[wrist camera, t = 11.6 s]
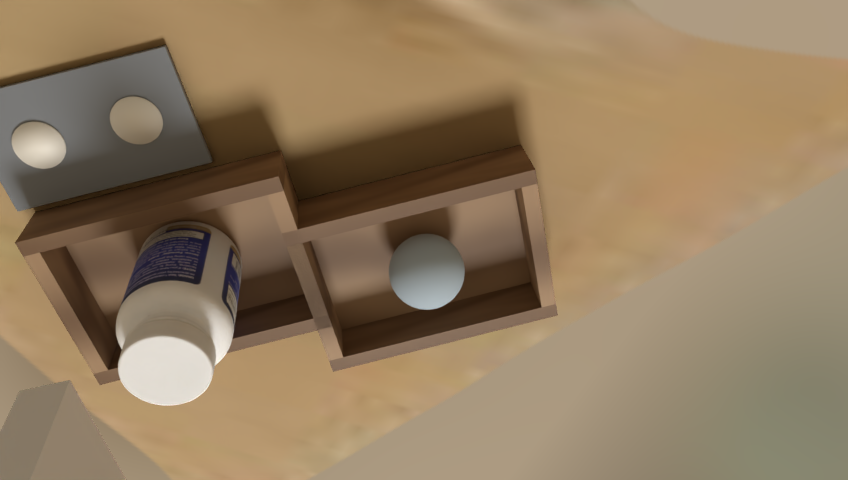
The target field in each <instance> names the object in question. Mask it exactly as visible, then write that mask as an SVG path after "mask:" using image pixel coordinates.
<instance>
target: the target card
mask: <svg viewBox="0 0 848 480" xmlns="http://www.w3.org/2000/svg"><path fill="white" fill-rule="evenodd" d="M212 161H213V159H212V157H211V154H210V152H209V149H208V147H207V144H206V142H205V140H204V137H203V135H202V132H201V130H200V127H199V125H198V122H197V120H196V117H195V115H194V112H193V110H192V107H191V105H190V102H189V100H188V98H187V95H186V93H185V90H184V88H183V85H182V83H181V80H180V78H179V75H178V73H177V70H176V68H175V65H174V63H173V60H172V58H171V55H170V53H169V51H168V48H167V46H166V45H163V46H159V47H155V48H151V49H148V50H144V51H140V52H136V53H132V54H128V55H124V56H120V57H116V58H112V59H108V60H104V61H100V62H96V63H92V64H88V65H85V66H81V67H77V68H73V69H69V70H65V71H61V72H57V73H53V74H49V75H45V76H41V77H37V78H33V79H29V80H25V81H22V82H18V83H14V84H10V85H6V86H2V87H0V182H1V184H2V185H3V187H4V189H5V190H6V192H7V194H8V196H9V197H10V199H11V201H12V202H13V204H14V206H15V208H16V209H17V211H22V210H25V209H29V208H33V207H37V206H41V205H45V204H49V203H53V202H57V201H61V200H65V199H69V198H73V197H77V196H81V195H85V194H89V193H93V192H97V191H101V190H105V189H109V188H112V187H116V186H120V185H124V184H128V183H132V182H136V181H140V180H144V179H148V178H152V177H156V176H160V175H164V174H168V173H172V172H176V171H180V170H184V169H188V168H192V167H196V166H199V165H203V164H207V163H211V162H212Z"/></svg>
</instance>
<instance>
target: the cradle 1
mask: <svg viewBox="0 0 848 480" xmlns="http://www.w3.org/2000/svg"><path fill="white" fill-rule="evenodd" d="M298 205H299V201H298V198H297V195H296V192H295V189H294V186H293V183H292V181H291V178H290V175H289V172H288V169H287V166H286V163H285V160H284V158H283V155H282V152H281V150H280V151H276V152H272V153H268V154H264V155H260V156H256V157H252V158H248V159H244V160H240V161H237V162H233V163H229V164H225V165H221V166H217V167H213V168H209V169H205V170H201V171H197V172H193V173H189V174H185V175H181V176H177V177H173V178H169V179H165V180H161V181H157V182H153V183H150V184H146V185H142V186H138V187H134V188H130V189H126V190H122V191H118V192H114V193H110V194H106V195H102V196H98V197H94V198H90V199H86V200H82V201H78V202H74V203H70V204H66V205H63V206H59V207H55V208H51V209H47V210H43V211H39V212H35V213H34V215H33V216H32V218H31V219H30V221H29V222H28V224H27V225H26V227H25V229H24V230H23V232H22V233H21V235H20V236H19V238H18V239H17V241H16V242H15V244H16V245H17V247H18V249H19V250H20V252H21V254H22V255H23V257H24V259H25V260H26V262H27V264H28V265H29V267H30V269H31V270H32V272H33V274H34V275H35V277H36V279H37V280H38V282H39V284H40V285H41V287H42V289H43V290H44V292H45V294H46V295H47V297H48V299H49V300H50V302H51V304H52V306H53V307H54V309H55V311H56V312H57V314H58V316H59V317H60V319H61V321H62V322H63V324H64V326H65V327H66V329H67V331H68V332H69V334H70V336H71V337H72V339H73V341H74V342H75V344H76V346H77V347H78V349H79V351H80V352H81V354H82V356H83V357H84V359H85V361H86V362H87V364H88V366H89V368H90V369H91V371H92V373H93V374H94V376H95V378H96V379H97V381H98V383H99V384H100V385H102V384H106V383H109V382H113V381H117V380H120V377H119V374H118V361H119V357H120V354H121V351H122V349H121V347H120V345H119V343H118V340H117V336H116V319H117V315H118V312H119V309H120V306H121V303H122V300H123V298H124V295H125V292H126V289H127V286H128V283H129V281H130V278H131V275H132V272H133V269H134V267H135V264H136V261H137V258H138V255H139V253H140V250H141V248H142V246H143V244H144V242H145V241H146V239H147V238H148V237H149V236H150V235H151V234H152V233H153V232H155V231H156V230H158V229H159V228H161V227H163V226H165V225H168V224H171V223H175V222H180V221H194V222H200V223H204V224H208V225H210V226H213V227H215V228H217V229H218V230H220V231H222V232H223V233H224V234H225V235H227V236H228V237H229V238H230V239H231V241H232V242H233V243H234V244H235V246H236V248H237V249H238V251H239V254H240V257H241V261H242V275H241V283H240V290H239V297H238V304H237V312H236V319H235V327H234V334H233V338H232V342H231V345H230V348H229V350H228V351H227V353H229V352H233V351H237V350H241V349H245V348H249V347H253V346H257V345H261V344H265V343H269V342H273V341H277V340H281V339H285V338H289V337H293V336H297V335H301V334H304V333H308V332H312V331H316V330H318V329H319V327H320V325H321V324H322V325H323V323H322V321H321V323H320V322H319V321H316V322H317V323H319V324H320V325H319V324H318V325H316V324H315V323H316V322H314V319H316V320H317V318H314V316H313V315H312V314H313V313H312V311H311V309H310V308H309V307H310V305H308V303H307V301H308V300H306V297H307V296H306V297H305V295H304V294H306V293H304V292H303V290H304V289H302V287H301V284H302V283H301V282H302V281H301V282H300V279H298V277H299V276H297V274H298V275H299V273H296V271H298V270H300V269H298V270H295V268H294V265H293V261H294V259H293V261H292V260H291V257H290V254H291V255H292V253H294V252H293V251H292V253H291V251H289V252H290V254H289V252H288V250H289V249H290V248H288V249H287V246H286V244H285V241H286V240H285V241H284V238H283V236H282V233H286V232H287V233H288V232H290V231H294V230H297V231H298ZM293 234H294V233H293ZM295 234H296V233H295ZM283 235H284V234H283ZM287 236H288V235H287ZM297 236H298V235H297ZM295 237H296V236H295ZM289 238H290V237H289ZM300 239H301V238H300ZM295 240H296V239H295ZM299 242H300V241H299ZM291 243H292V242H291ZM294 243H295V242H294ZM287 244H289V243H287ZM300 244H301V243H300ZM297 245H298V244H297ZM292 246H293V247H294V245H292ZM289 247H290V246H289ZM298 247H299V246H298ZM300 247H301V245H300ZM300 247H299V248H300ZM296 249H298V248H297V247H296ZM301 249H302V250H303V248H301ZM291 250H294V248H293V249H292V247H291ZM298 250H300V249H298ZM304 250H305V249H304ZM298 252H299V251H298ZM298 252H297V253H298ZM301 252H302V253H303V251H301ZM302 253H300V254H302ZM295 254H296V252H295ZM298 255H299V253H298ZM293 256H295V255H293ZM299 256H300V255H299ZM299 256H297V254H296V257H299ZM304 256H305V257H306V255H305V254H304ZM301 257H302V258H303V256H301ZM294 258H295V257H294ZM299 258H300V257H299ZM307 258H308V257H307ZM295 259H296V258H295ZM297 259H298V258H297ZM300 259H301V258H300ZM305 259H306V258H305ZM295 261H296V262H299V263H300V261H301V262H302V260H300V261H297V260H295ZM306 261H307V259H306ZM308 262H309V260H308ZM308 262H307V263H308ZM302 263H303V262H302ZM294 264H295V263H294ZM296 264H298V263H296ZM300 264H301V263H300ZM304 264H305V263H304ZM301 265H303V264H301ZM301 265H300V266H301ZM305 265H306V264H305ZM308 266H309V265H308ZM295 267H296V266H295ZM298 267H299V266H298ZM310 267H311V266H309V268H310ZM296 268H297V267H296ZM300 268H301V267H300ZM305 268H306V266H305ZM309 268H308V269H309ZM303 269H304V266H303ZM301 270H302V268H301ZM306 270H307V268H306ZM303 271H304V272H305V274H306V271H305V270H303ZM303 271H302V273H303V276H304V272H303ZM307 271H308V270H307ZM299 272H301V271H299ZM310 272H311V271H310ZM307 273H308V272H307ZM301 275H302V274H301ZM308 275H309V273H308ZM306 276H307V274H306ZM311 276H312V275H311ZM300 277H301V276H300ZM309 277H310V275H309ZM302 278H303V277H302ZM304 278H305V276H304ZM311 278H312V277H311ZM314 278H315V277H314ZM314 278H313V280H314ZM308 279H309V278H307V280H308ZM302 280H303V279H302ZM304 280H305V279H304ZM309 280H311V279H309ZM309 280H308V284H310V283H309ZM311 281H312V280H311ZM315 281H316V280H315ZM305 282H306V281H305ZM313 282H314V281H313ZM313 282H312V284H313ZM300 283H301V284H300ZM306 283H307V282H306ZM314 283H315V282H314ZM303 284H304V283H303ZM303 284H302V285H303ZM316 284H317V283H316ZM305 285H307V284H305ZM305 285H304V286H305ZM314 285H315V284H314ZM315 286H317V285H315ZM305 287H306V286H305ZM307 288H308V289H309V286H308V285H307ZM310 288H311V287H310ZM315 288H316V287H315ZM305 289H306V288H305ZM316 289H317V288H316ZM316 289H315V290H316ZM313 290H314V286H313ZM313 290H312V291H313ZM315 290H314V292H315ZM304 291H305V290H304ZM309 291H310V289H309ZM317 291H318V290H317ZM306 292H307V290H306ZM307 293H308V292H307ZM319 293H320V292H319ZM312 294H313V292H312ZM315 294H316V292H315ZM307 295H308V294H307ZM310 295H311V294H310ZM316 295H317V294H316ZM308 296H309V295H308ZM318 296H319V297H320V295H319V294H318ZM309 297H310V296H309ZM321 297H322V296H321ZM317 298H318V297H317ZM317 298H316V299H317ZM309 299H310V298H309ZM311 299H312V297H311ZM311 299H310V300H311ZM316 299H314V300H315V301H316ZM319 299H321V298H319ZM319 299H317V301H318V300H319ZM329 300H330V299H329V298H328V313H327V314H328V315H327V317H328V316H329V320H330V322H331V326H332V307H330V306H332V305H331V303H330V301H329ZM312 301H313V299H312ZM322 301H323V300H322ZM322 301H321V303H322ZM313 302H314V301H313ZM319 302H320V301H319ZM310 303H312V302H310ZM315 303H316V304H317V302H315ZM321 303H319V304H321ZM312 304H314V303H312ZM323 305H324V304H323ZM312 306H313V305H312ZM314 306H315V304H314ZM320 306H321V305H320ZM320 306H319V307H320ZM316 307H318V305H316ZM316 307H315V308H316ZM322 308H323V306H322ZM322 308H321V307H320V309H322ZM312 309H313V308H312ZM318 310H319V309H318ZM324 310H325V309H323V311H324ZM315 311H317V310H316V309H315ZM313 312H314V311H313ZM326 312H327V310H326ZM323 313H324V314H325V315H326V313H325V312H322V315H324V314H323ZM317 314H318V313H317ZM319 314H320V312H319ZM319 314H318V315H319ZM315 316H317V315H316V314H315ZM320 316H321V314H320ZM318 317H319V316H318ZM327 317H325V318H326V319H328V318H327ZM313 318H314V319H313ZM320 318H322V316H321V317H320ZM325 318H324V319H325ZM318 320H319V319H318ZM321 320H322V319H321ZM329 320H328V321H329ZM328 321H327V322H328ZM323 322H324V320H323ZM327 322H326V324H327ZM324 323H325V322H324ZM318 326H319V327H318ZM323 326H324V327H323ZM323 326H321V327H323V328H322V329H324V328H326V327H325V324H324V325H323ZM329 326H330V325H329ZM331 326H330V327H331ZM317 327H318V328H317ZM327 328H328V327H327ZM320 329H321V328H320ZM320 329H319V330H320Z"/></svg>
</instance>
